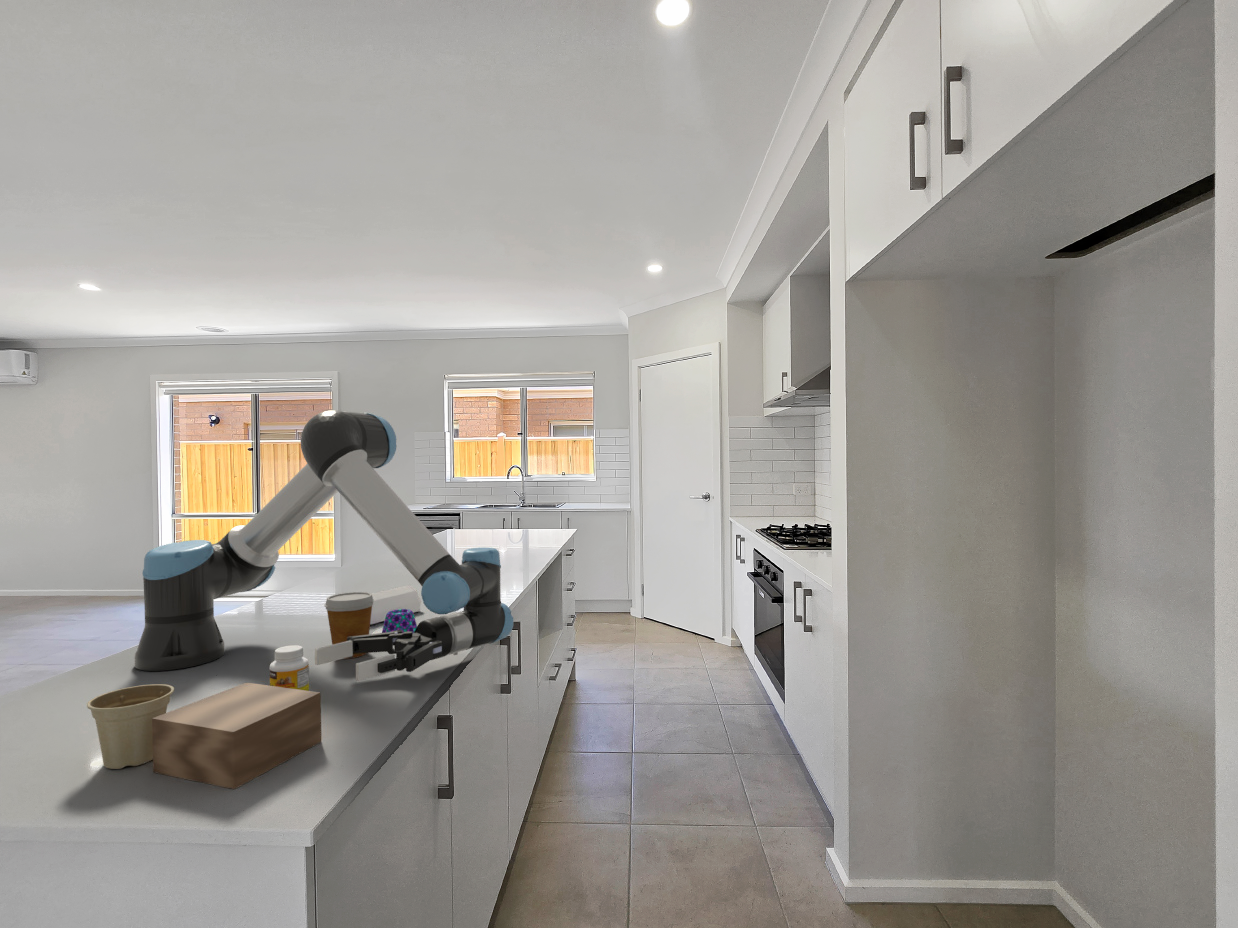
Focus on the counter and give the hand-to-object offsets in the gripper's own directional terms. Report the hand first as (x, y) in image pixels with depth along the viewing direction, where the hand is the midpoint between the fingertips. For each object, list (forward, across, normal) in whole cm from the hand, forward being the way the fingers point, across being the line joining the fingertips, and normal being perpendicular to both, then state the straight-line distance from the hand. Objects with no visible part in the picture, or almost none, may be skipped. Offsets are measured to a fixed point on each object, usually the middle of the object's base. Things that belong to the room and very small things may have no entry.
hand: (335, 664), depth 110 cm
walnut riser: (+18, -10, -6) cm, 22 cm away
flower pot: (+28, +1, -6) cm, 28 cm away
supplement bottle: (+7, +1, -6) cm, 10 cm away
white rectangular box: (-34, +44, -6) cm, 57 cm away
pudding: (-30, +29, -6) cm, 42 cm away
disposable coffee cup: (-15, +22, -6) cm, 27 cm away
